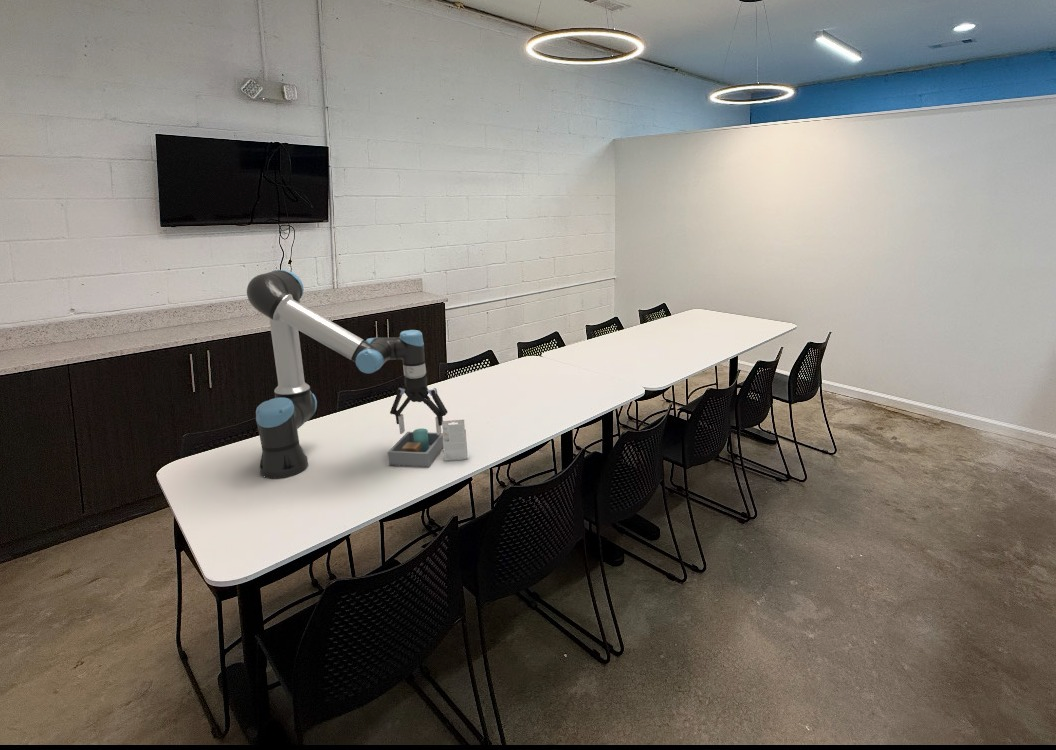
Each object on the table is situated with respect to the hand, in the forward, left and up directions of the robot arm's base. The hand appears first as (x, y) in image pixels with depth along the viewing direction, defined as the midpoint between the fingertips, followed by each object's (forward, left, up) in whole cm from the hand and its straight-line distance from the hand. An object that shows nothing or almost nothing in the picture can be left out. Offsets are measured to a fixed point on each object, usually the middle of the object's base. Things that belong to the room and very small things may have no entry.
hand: (420, 433), depth 206 cm
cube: (0, -8, -6) cm, 10 cm away
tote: (0, -4, -7) cm, 8 cm away
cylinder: (0, 0, -6) cm, 6 cm away
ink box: (+14, -5, -7) cm, 16 cm away
